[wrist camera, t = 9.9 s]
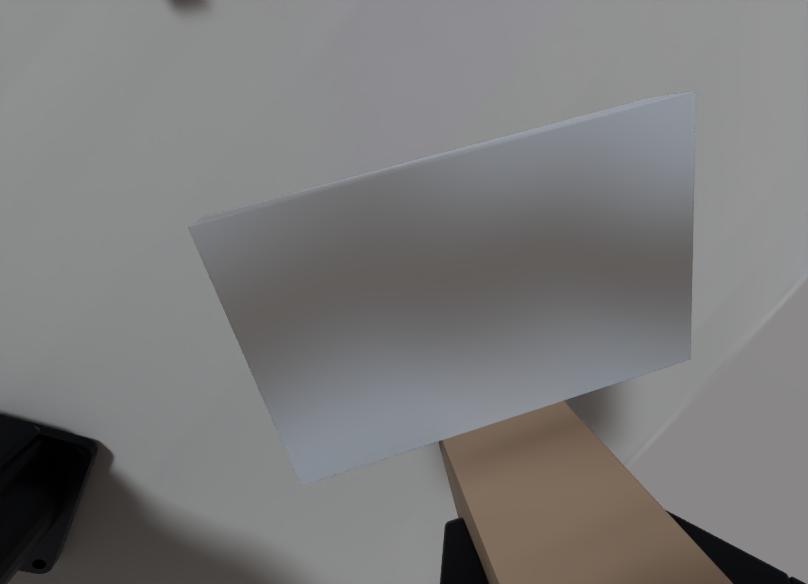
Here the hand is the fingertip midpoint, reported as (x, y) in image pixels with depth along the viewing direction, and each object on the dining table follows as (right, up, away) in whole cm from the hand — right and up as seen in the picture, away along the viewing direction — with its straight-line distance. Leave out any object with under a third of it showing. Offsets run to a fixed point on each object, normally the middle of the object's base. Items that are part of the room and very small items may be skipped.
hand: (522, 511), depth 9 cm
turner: (0, +1, +1) cm, 1 cm away
